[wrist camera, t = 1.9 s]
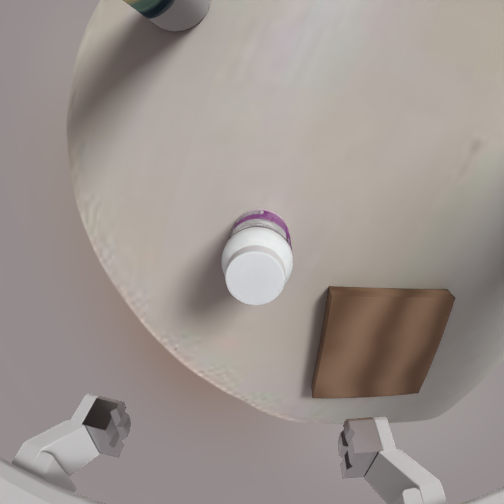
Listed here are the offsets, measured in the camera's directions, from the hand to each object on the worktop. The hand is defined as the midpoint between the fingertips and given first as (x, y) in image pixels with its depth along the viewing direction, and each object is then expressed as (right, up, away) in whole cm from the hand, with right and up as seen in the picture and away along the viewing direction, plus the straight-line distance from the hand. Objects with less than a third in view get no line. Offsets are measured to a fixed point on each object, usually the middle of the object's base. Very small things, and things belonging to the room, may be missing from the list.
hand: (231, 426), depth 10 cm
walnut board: (+15, -4, +24) cm, 28 cm away
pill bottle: (+2, +8, +20) cm, 22 cm away
